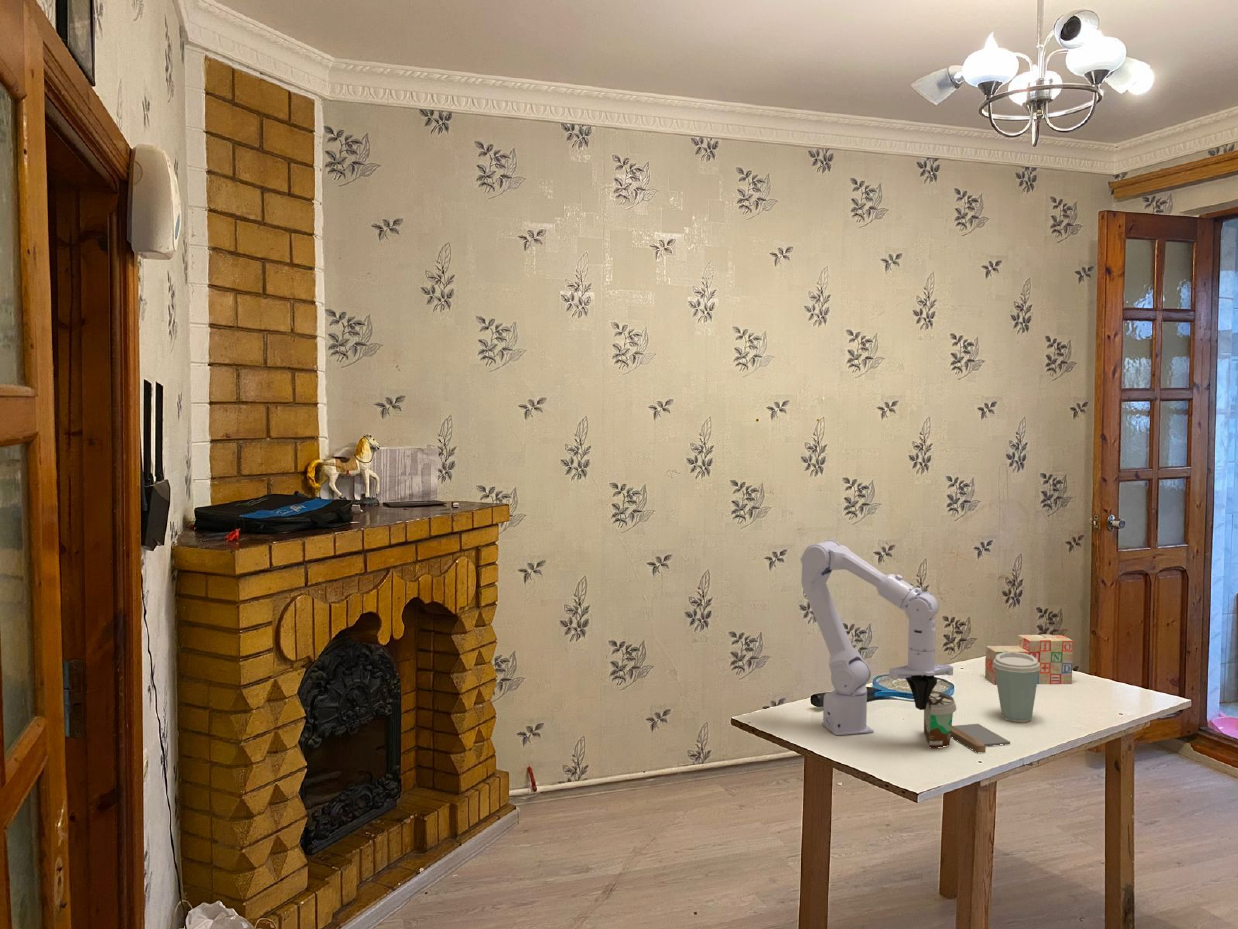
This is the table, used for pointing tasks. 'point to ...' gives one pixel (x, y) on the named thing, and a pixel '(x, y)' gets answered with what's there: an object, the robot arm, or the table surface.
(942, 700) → the food container
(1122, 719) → the table surface
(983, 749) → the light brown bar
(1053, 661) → the stack of blocks
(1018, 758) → the table surface
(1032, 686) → the disposable coffee cup
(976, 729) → the rubber mat
